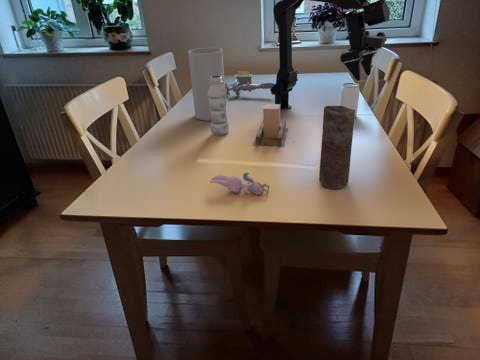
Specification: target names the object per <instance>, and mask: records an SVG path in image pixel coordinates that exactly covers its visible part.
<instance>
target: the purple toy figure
mask: <svg viewBox="0 0 480 360" xmlns="http://www.w3.org/2000/svg"><path fill="white" fill-rule="evenodd" d="M248 175H250V173H249V172H244V173H243V174H242V178H243V180H244V181H245V183H243V182H242V179H241V178H240V177H238V176H235V175H234V176H227V175H223V174H222V175H220V174H219V175H216V176H213V177H211V179H210V180H209V183H214V184H217V185H220V186H222V187H224V188H227V189H228V191H230V192H233V193H234V194H235V193H236V194H237V193H240V192H241V191H242V189H243V191H244V192H246V194H249V195H250V193H253V194H254V195H257V196H261V195H262V194H263V193H264V192H266V196H268V194H269V190H270V185H267V183H264V184H263V183H261V182H260V181H255V180H254V179H253V178H252V177H250V176H248ZM265 187H267V190H266V188H265Z"/></svg>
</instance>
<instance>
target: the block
mask: <svg viewBox="0 0 480 360" xmlns="http://www.w3.org/2000/svg"><path fill="white" fill-rule="evenodd" d="M280 106H281V104H275V103H265V104H264V106H263V109H262V113H263V114H262V115H263V117H262V121H263V138H277V137H278V134H279V130H280V127H281V110H280Z"/></svg>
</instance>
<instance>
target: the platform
mask: <svg viewBox="0 0 480 360" xmlns="http://www.w3.org/2000/svg"><path fill="white" fill-rule="evenodd" d="M233 77H235V78H236V79H235V81H236V80H239V83H240V85H245V84H247V83H250V84H253V83H252V78H253V77H254V74H252V73H250V71H245V70H244V71H237V73H236V74H234V75H233Z"/></svg>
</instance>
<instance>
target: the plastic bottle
mask: <svg viewBox="0 0 480 360" xmlns="http://www.w3.org/2000/svg"><path fill="white" fill-rule="evenodd" d="M210 83H211V86H210V88H209V90H208V99H209V103H210V109H211V121H210V125H209V127H210V132H211V134H212V136H217V137H221V136H226V135H228V134H229V131H230V126H229V125H230V124H229V121H228V116H227V93H228V92H226V89H225V88H224V87H223V85H222V84H221V83H222V77H221V76H211V81H210Z"/></svg>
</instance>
